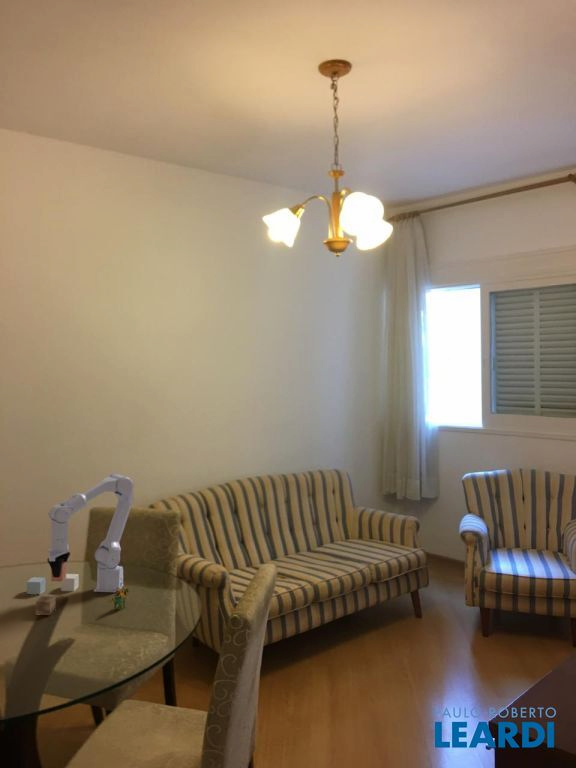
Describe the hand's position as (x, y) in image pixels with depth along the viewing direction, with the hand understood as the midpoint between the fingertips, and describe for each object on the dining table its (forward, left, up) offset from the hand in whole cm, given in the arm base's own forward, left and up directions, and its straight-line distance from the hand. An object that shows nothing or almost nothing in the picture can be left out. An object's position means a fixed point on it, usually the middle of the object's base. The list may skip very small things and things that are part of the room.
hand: (58, 574), depth 235 cm
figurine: (-24, +7, -10) cm, 27 cm away
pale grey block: (0, -12, -10) cm, 15 cm away
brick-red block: (0, 0, -2) cm, 2 cm away
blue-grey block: (+11, -7, -10) cm, 16 cm away
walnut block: (0, +12, -10) cm, 15 cm away
